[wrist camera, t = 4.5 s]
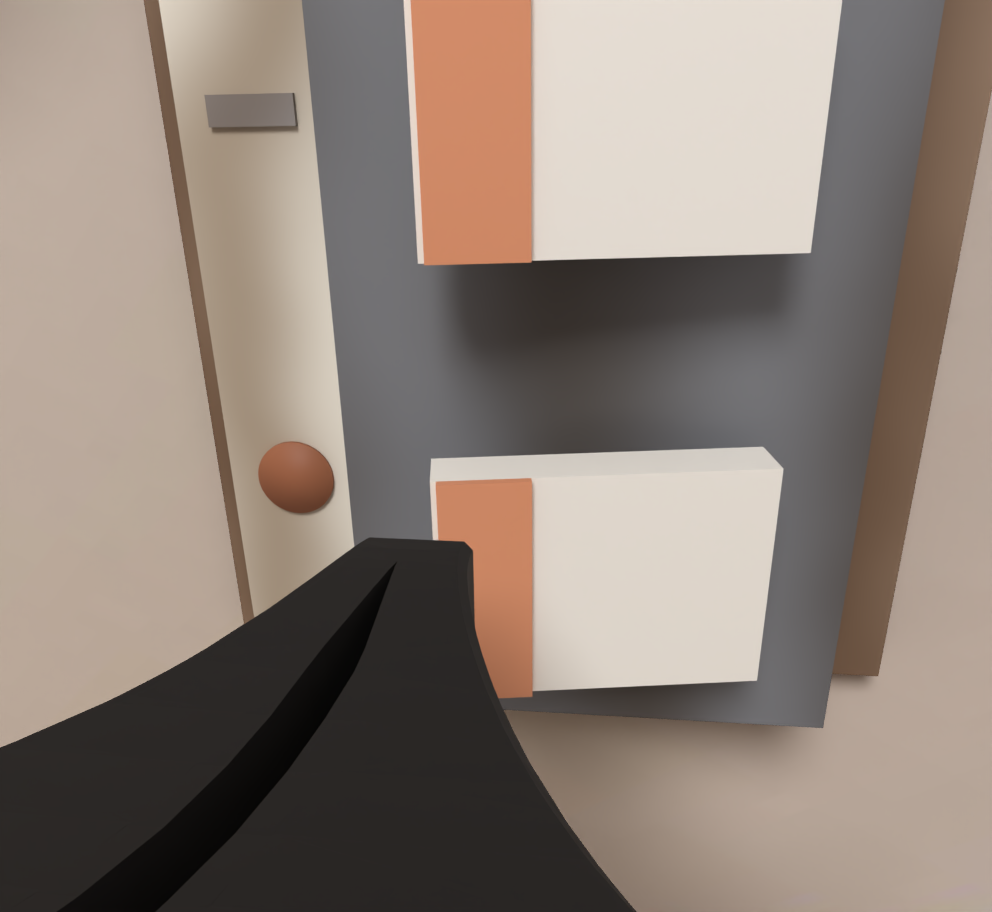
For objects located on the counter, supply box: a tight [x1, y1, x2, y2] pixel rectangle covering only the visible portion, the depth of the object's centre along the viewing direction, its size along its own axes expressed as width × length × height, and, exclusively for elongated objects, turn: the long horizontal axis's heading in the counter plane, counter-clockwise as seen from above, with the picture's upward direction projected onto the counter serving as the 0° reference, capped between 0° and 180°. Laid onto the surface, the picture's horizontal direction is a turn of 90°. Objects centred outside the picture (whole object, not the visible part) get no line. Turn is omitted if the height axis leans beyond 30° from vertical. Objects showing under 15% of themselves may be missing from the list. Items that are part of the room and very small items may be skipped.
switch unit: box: [144, 0, 992, 728], centre depth 15 cm, size 16×26×3 cm, turn 1°
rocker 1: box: [404, 0, 842, 265], centre depth 12 cm, size 6×4×2 cm
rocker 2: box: [430, 447, 783, 698], centre depth 15 cm, size 6×4×2 cm
